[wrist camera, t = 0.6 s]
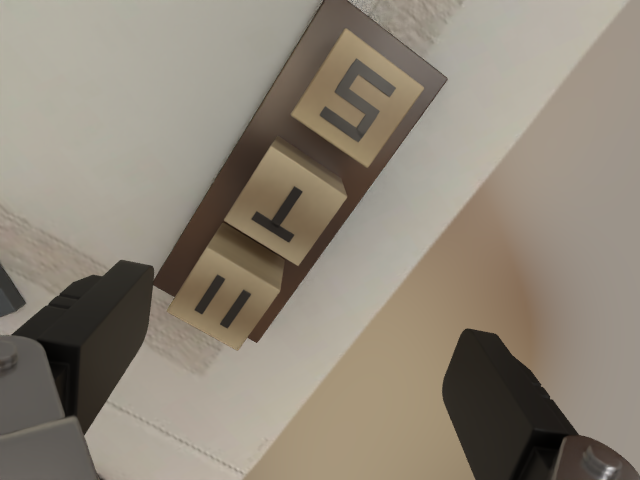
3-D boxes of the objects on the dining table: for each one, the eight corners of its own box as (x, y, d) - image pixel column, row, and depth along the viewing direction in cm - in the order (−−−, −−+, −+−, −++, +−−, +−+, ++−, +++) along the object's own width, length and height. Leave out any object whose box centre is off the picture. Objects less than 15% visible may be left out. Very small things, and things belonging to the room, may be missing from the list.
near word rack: (330, -9, 21) (336, -35, 17) (442, 78, 23) (478, 77, 18) (157, 277, 26) (122, 320, 21) (258, 334, 28) (247, 387, 23)
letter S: (339, 37, 21) (345, 27, 17) (405, 87, 22) (425, 88, 18) (293, 110, 22) (289, 115, 18) (358, 154, 23) (368, 169, 19)
